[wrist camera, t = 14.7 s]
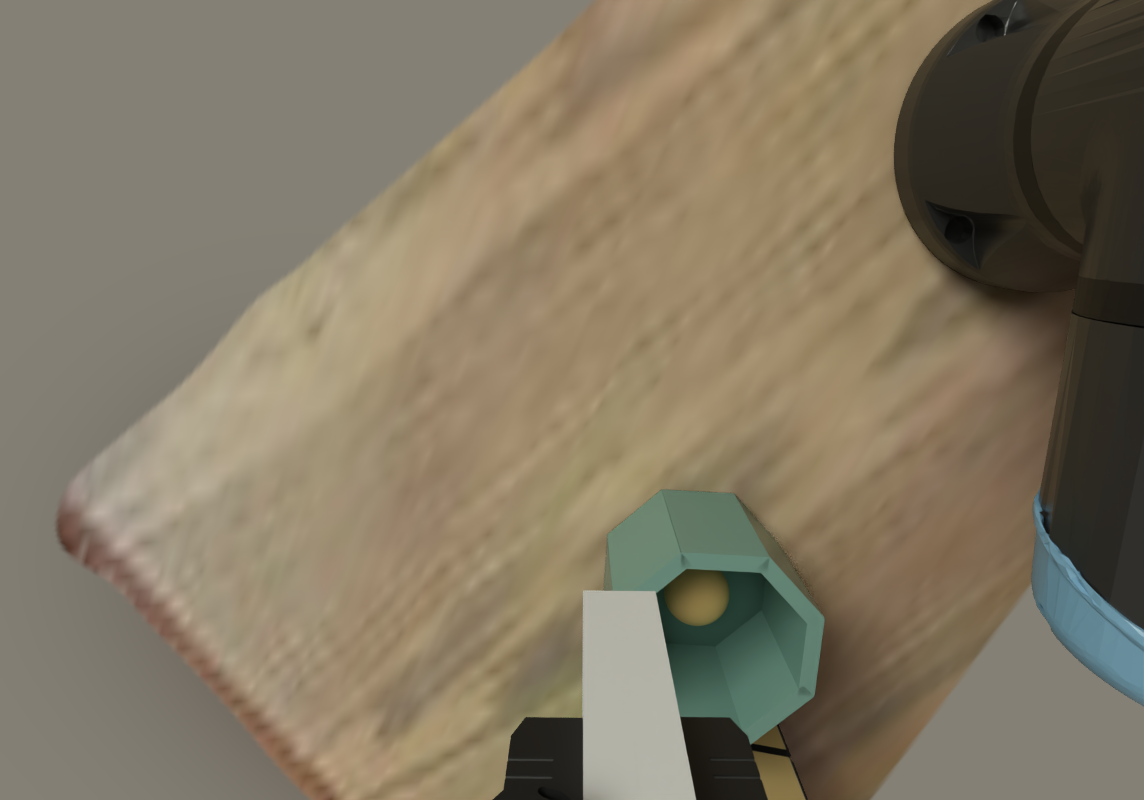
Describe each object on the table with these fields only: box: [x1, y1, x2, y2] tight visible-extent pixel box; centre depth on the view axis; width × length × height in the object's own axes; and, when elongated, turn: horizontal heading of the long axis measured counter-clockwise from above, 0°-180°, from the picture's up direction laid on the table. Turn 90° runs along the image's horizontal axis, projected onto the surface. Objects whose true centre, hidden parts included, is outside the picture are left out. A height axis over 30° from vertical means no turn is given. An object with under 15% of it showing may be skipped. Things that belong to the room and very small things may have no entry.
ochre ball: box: [664, 569, 729, 626], centre depth 45 cm, size 4×4×4 cm
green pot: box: [603, 490, 825, 745], centre depth 43 cm, size 10×10×9 cm
